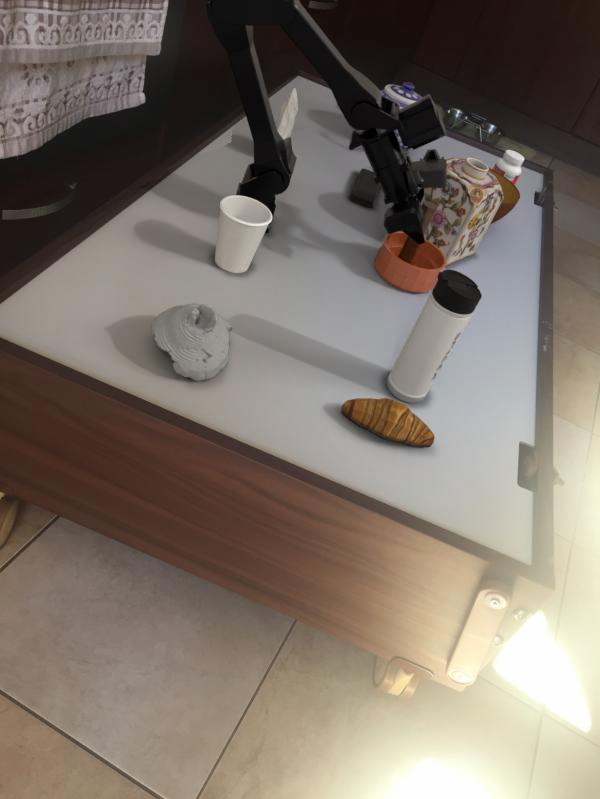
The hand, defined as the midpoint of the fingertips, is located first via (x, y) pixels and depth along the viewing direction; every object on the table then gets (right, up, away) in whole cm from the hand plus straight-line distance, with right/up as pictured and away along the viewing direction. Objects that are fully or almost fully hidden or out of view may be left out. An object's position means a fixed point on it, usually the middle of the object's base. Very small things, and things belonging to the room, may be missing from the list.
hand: (422, 239), depth 129 cm
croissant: (-10, -33, -28) cm, 44 cm away
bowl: (+13, +10, +29) cm, 34 cm away
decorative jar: (+6, +2, +18) cm, 19 cm away
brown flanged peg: (-3, -4, +4) cm, 7 cm away
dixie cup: (-33, -6, -9) cm, 35 cm away
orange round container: (-3, -6, +5) cm, 8 cm away
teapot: (-1, +34, +49) cm, 60 cm away
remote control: (-8, +16, +26) cm, 32 cm away
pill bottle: (+24, +20, +45) cm, 54 cm away
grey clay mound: (-37, -22, -29) cm, 52 cm away
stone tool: (-27, +22, +24) cm, 43 cm away
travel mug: (-6, -27, -20) cm, 34 cm away
